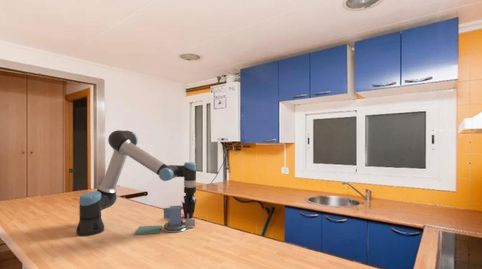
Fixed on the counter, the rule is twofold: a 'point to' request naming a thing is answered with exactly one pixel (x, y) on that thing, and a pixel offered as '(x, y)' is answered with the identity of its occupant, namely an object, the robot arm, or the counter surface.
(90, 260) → the counter surface
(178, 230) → the turntable base
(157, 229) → the plate
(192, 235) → the counter surface
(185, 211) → the plastic cup
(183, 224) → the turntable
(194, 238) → the counter surface
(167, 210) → the blue block
